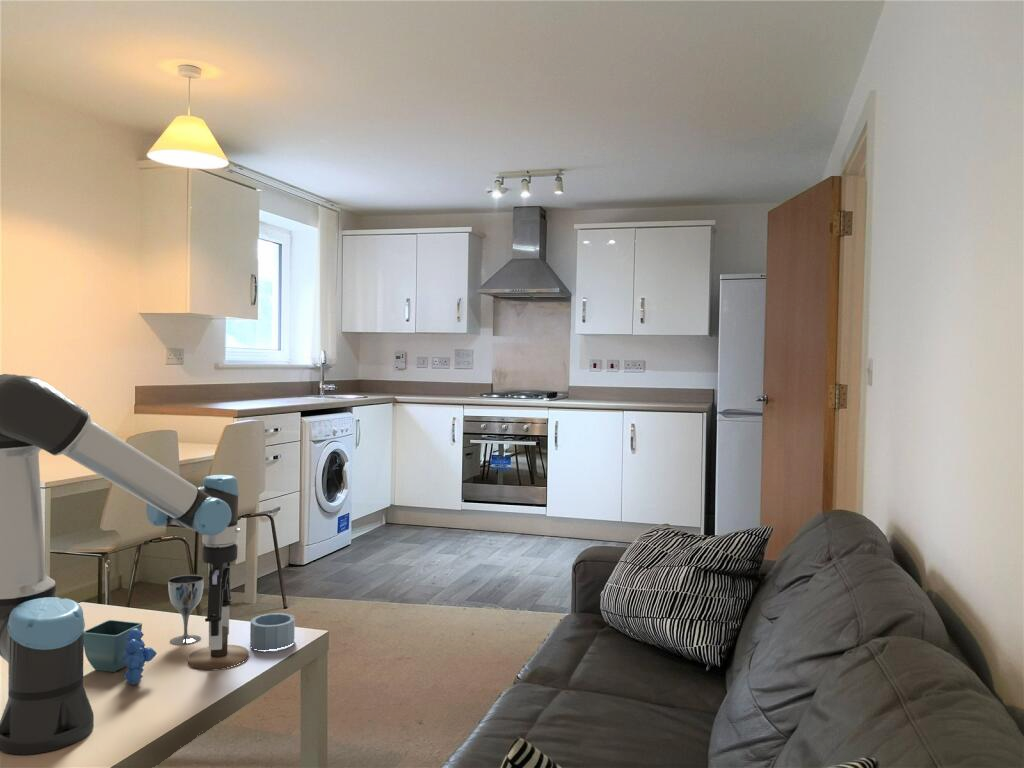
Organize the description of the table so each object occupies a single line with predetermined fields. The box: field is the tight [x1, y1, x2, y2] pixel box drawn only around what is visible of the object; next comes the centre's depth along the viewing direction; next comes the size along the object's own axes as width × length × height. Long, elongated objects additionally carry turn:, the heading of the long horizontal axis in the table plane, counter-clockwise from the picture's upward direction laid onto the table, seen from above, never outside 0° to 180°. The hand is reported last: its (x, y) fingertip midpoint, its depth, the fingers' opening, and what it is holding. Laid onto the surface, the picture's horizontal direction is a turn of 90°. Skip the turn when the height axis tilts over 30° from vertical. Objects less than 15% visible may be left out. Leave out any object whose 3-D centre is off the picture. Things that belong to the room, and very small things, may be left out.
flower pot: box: [84, 619, 143, 673], centre depth 174 cm, size 9×9×9 cm
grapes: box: [122, 628, 157, 686], centre depth 166 cm, size 12×7×12 cm, turn 22°
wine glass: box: [167, 574, 205, 646], centre depth 192 cm, size 8×8×15 cm
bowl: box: [249, 612, 296, 650], centre depth 190 cm, size 10×10×6 cm
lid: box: [187, 626, 250, 671], centre depth 180 cm, size 13×13×7 cm
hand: (219, 641), depth 180 cm, fingers open, 9 cm apart
